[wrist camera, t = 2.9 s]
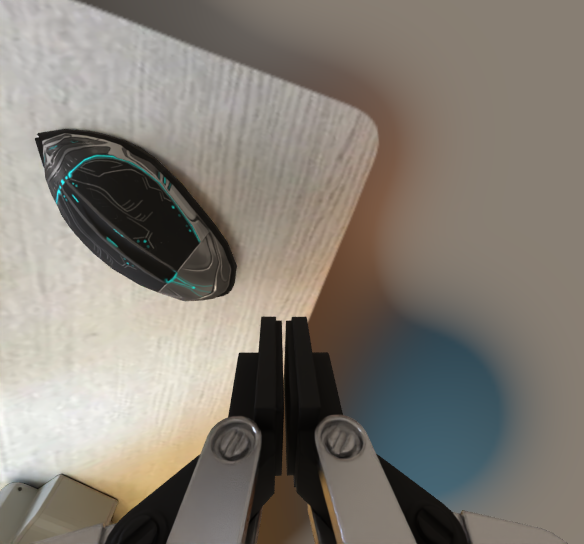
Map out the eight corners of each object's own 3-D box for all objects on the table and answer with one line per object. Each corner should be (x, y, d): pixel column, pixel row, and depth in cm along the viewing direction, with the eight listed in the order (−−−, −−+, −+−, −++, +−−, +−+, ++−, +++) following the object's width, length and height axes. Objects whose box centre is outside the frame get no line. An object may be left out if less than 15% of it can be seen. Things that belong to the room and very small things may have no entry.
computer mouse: (73, 82, 20) (1, 68, 14) (266, 244, 25) (263, 276, 20) (17, 181, 22) (-60, 200, 17) (204, 308, 28) (188, 350, 23)
